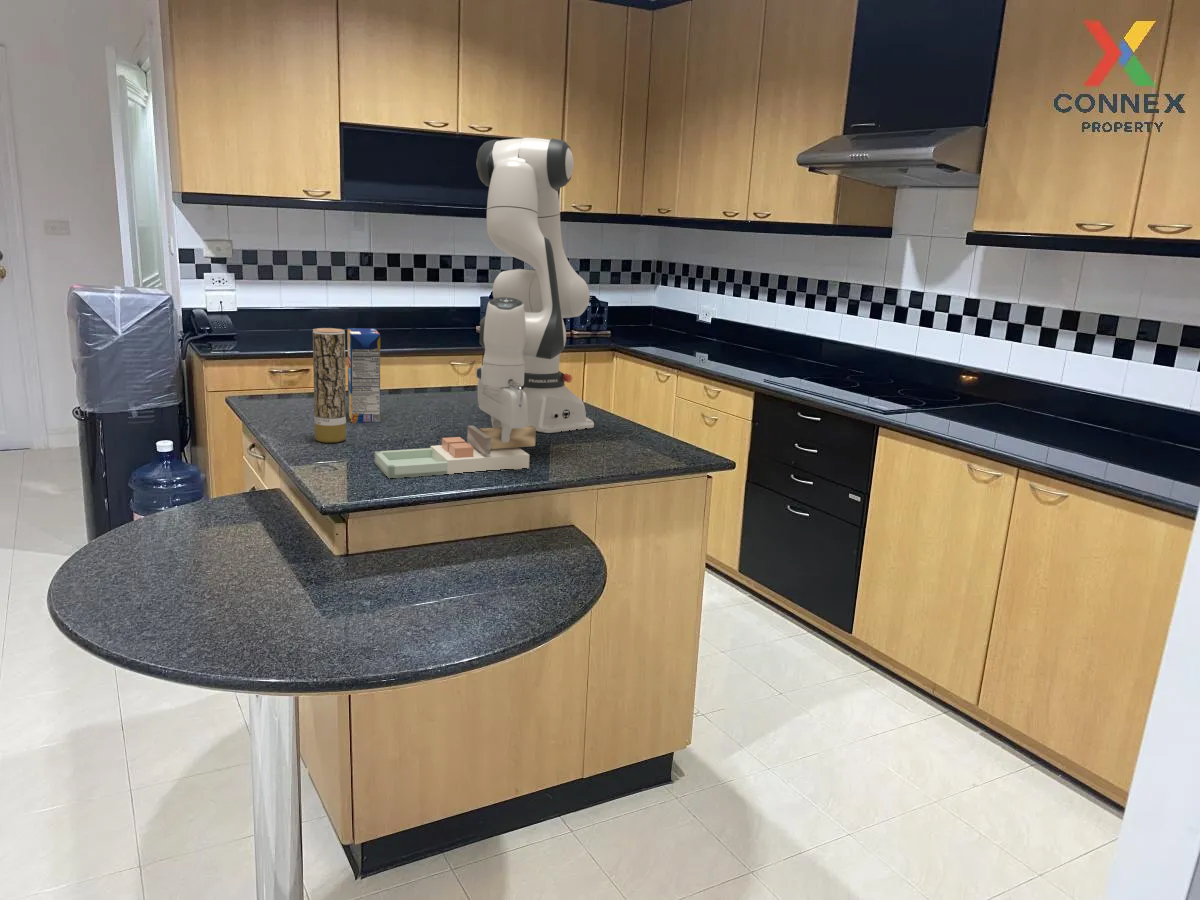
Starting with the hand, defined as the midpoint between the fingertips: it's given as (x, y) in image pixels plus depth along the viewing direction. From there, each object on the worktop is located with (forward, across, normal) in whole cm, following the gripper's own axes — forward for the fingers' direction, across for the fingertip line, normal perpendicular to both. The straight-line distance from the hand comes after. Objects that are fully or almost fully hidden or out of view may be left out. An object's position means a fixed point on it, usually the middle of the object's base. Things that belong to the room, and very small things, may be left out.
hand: (501, 439), depth 191 cm
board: (+5, 0, +5) cm, 7 cm away
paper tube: (+5, +27, +31) cm, 41 cm away
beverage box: (+5, +47, +18) cm, 51 cm away
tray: (+5, 0, +20) cm, 20 cm away
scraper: (+2, 0, -1) cm, 2 cm away
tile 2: (+2, -2, +10) cm, 10 cm away
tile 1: (+2, +3, +10) cm, 10 cm away
